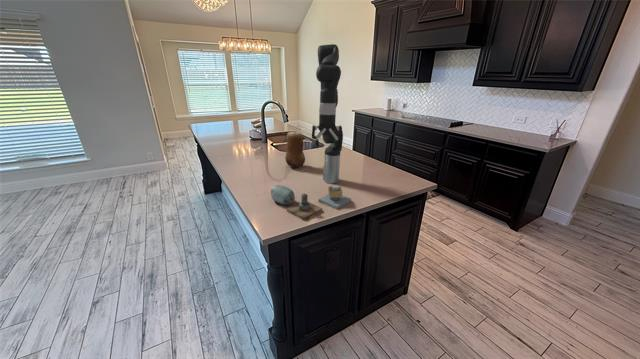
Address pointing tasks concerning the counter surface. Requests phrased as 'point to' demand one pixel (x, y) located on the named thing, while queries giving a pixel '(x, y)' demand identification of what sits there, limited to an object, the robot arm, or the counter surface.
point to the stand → (304, 209)
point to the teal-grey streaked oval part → (282, 195)
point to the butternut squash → (295, 150)
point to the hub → (335, 199)
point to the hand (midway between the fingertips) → (326, 147)
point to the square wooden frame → (335, 192)
